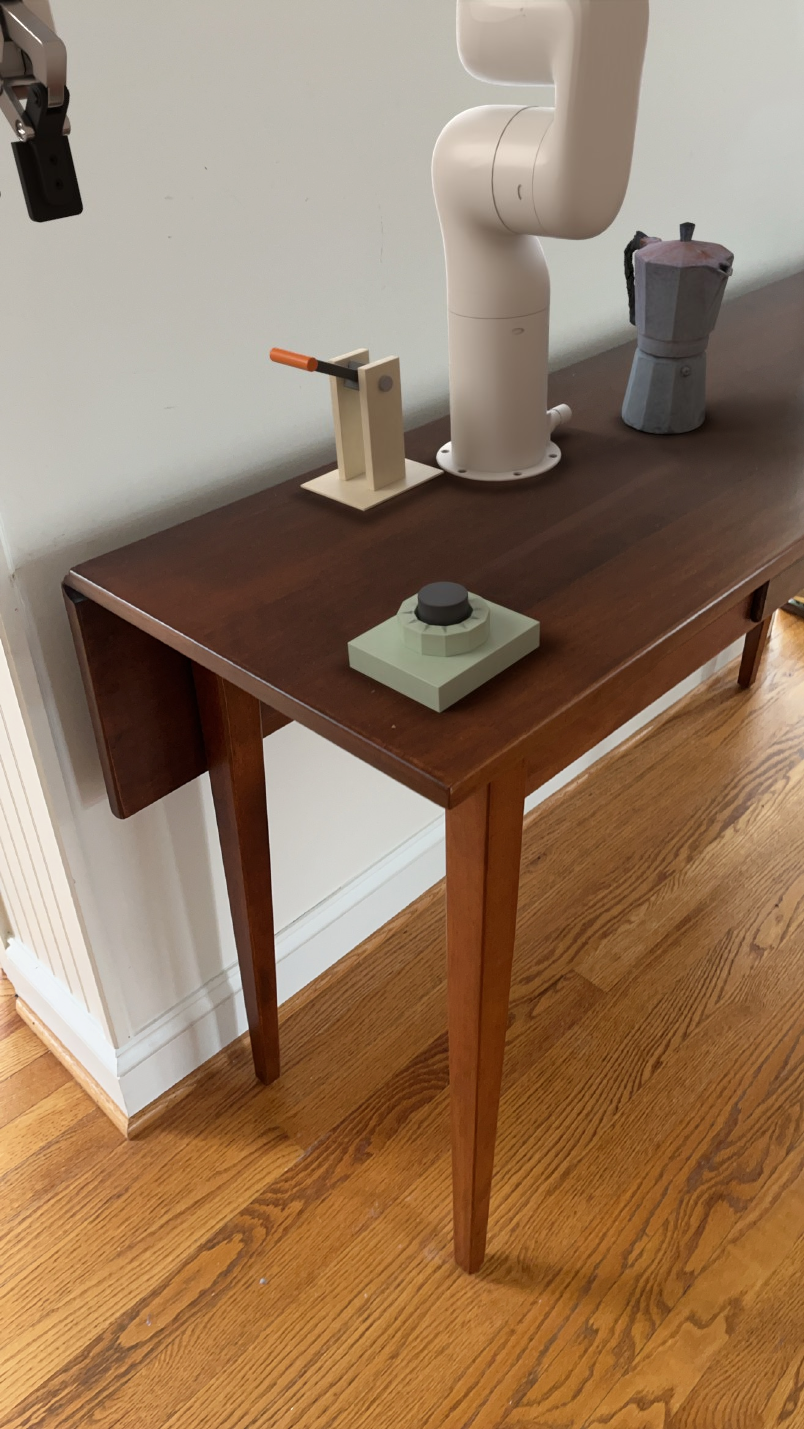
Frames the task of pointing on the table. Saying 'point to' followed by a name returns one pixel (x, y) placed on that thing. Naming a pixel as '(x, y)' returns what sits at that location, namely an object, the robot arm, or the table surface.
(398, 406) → the pivot handle stand
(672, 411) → the moka pot
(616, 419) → the table surface
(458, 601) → the socket button
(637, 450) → the table surface
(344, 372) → the orange grip lever
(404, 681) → the socket block
